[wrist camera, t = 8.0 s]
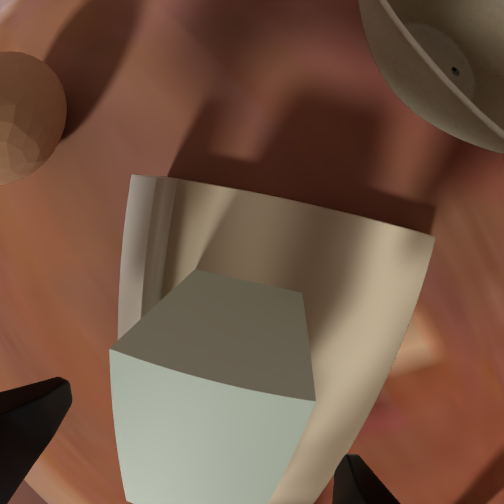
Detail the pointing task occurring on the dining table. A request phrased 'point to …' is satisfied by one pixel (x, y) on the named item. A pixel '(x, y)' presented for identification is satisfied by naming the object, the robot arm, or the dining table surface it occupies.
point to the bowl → (443, 62)
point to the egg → (28, 114)
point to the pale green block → (212, 392)
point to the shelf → (291, 278)
